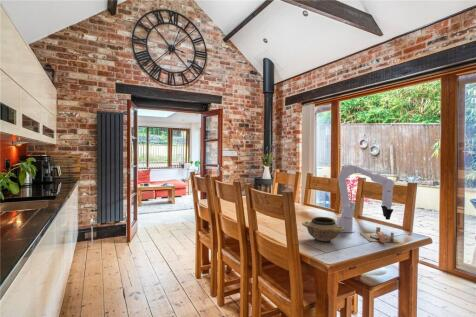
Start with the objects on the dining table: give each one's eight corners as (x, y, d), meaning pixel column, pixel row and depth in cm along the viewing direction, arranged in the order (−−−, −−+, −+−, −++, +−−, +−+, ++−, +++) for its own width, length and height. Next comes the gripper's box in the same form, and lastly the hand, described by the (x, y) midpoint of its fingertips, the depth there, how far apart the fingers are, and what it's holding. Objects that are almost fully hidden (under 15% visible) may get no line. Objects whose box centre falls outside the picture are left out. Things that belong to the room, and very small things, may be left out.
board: (369, 241, 161) (369, 230, 160) (359, 233, 176) (360, 223, 175) (397, 242, 160) (398, 231, 159) (385, 234, 175) (386, 224, 174)
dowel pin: (391, 240, 163) (391, 233, 163) (389, 239, 164) (390, 232, 164) (394, 240, 163) (394, 233, 162) (392, 239, 164) (392, 232, 164)
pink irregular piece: (368, 234, 173) (368, 227, 173) (384, 235, 171) (384, 228, 171) (374, 241, 158) (374, 234, 158) (391, 243, 156) (391, 235, 156)
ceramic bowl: (298, 244, 163) (296, 221, 159) (309, 230, 176) (307, 208, 173) (340, 254, 148) (339, 229, 145) (349, 238, 162) (348, 214, 158)
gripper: (396, 199, 168) (396, 221, 168) (392, 195, 182) (391, 216, 182) (384, 198, 170) (383, 220, 171) (380, 195, 184) (379, 215, 184)
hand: (386, 218), depth 177 cm, fingers open, 7 cm apart
